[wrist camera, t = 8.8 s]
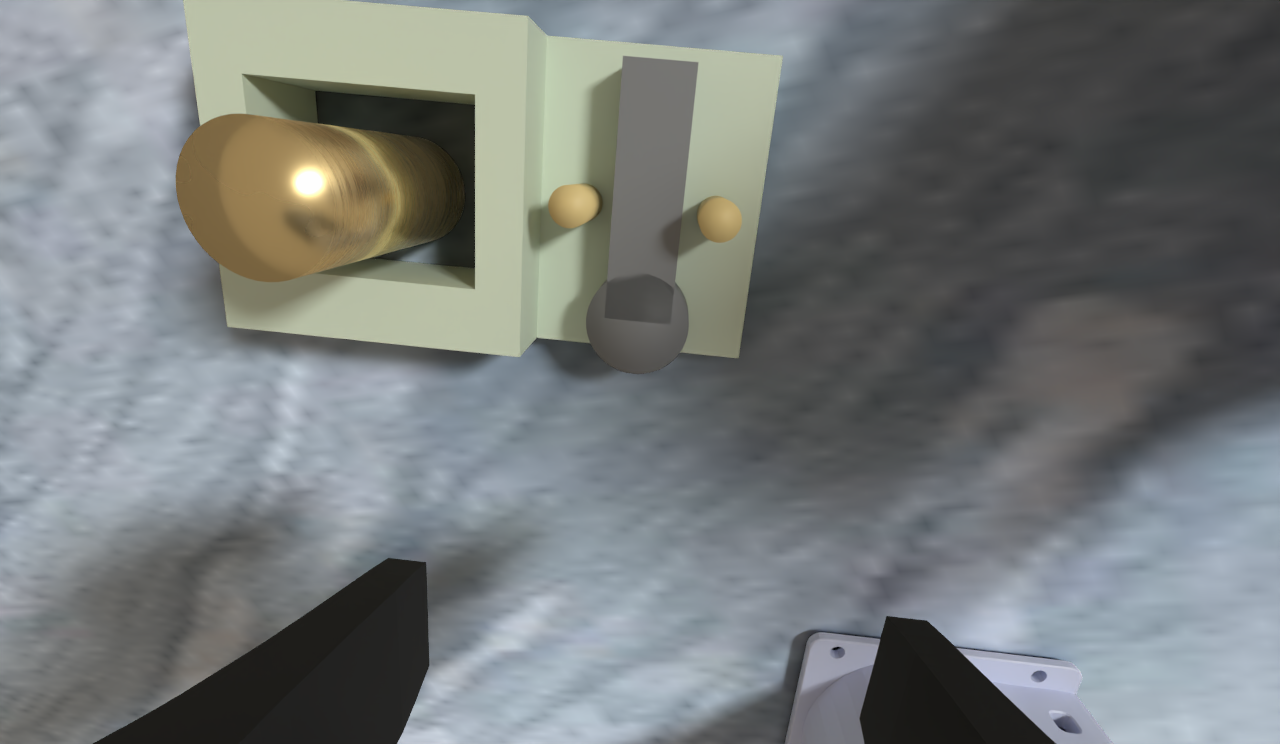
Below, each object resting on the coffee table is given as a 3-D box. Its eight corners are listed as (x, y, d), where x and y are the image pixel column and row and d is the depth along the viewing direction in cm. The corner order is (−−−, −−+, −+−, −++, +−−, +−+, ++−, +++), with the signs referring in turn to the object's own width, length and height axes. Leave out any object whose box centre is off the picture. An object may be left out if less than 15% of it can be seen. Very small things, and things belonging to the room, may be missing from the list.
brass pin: (462, 137, 17) (322, 116, 10) (467, 244, 18) (343, 285, 11) (359, 134, 17) (159, 110, 11) (371, 240, 18) (194, 278, 12)
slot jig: (776, 63, 16) (801, 34, 13) (733, 361, 19) (744, 400, 15) (267, 19, 16) (166, -19, 13) (296, 316, 19) (218, 344, 16)
